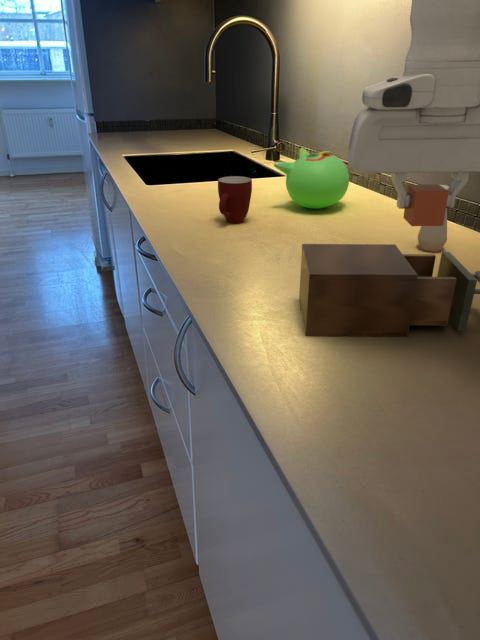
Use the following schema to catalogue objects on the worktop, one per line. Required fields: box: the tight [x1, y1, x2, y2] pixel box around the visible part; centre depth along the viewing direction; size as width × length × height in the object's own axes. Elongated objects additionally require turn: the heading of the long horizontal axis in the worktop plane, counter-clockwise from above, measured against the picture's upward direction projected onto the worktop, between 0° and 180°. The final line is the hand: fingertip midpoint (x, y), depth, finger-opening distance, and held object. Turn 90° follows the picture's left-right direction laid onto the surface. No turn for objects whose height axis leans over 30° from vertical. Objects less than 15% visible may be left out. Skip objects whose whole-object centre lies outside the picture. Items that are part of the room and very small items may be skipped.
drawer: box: [402, 251, 480, 331], centre depth 77 cm, size 18×11×8 cm, turn 88°
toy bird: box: [273, 147, 350, 210], centre depth 133 cm, size 18×17×15 cm
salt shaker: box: [417, 184, 450, 253], centre depth 104 cm, size 6×6×13 cm
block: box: [403, 183, 449, 227], centre depth 66 cm, size 4×4×4 cm
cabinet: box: [298, 243, 418, 338], centre depth 77 cm, size 15×13×10 cm
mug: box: [217, 175, 253, 224], centre depth 122 cm, size 10×8×10 cm
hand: (424, 207), depth 66 cm, fingers closed on block, 4 cm apart
